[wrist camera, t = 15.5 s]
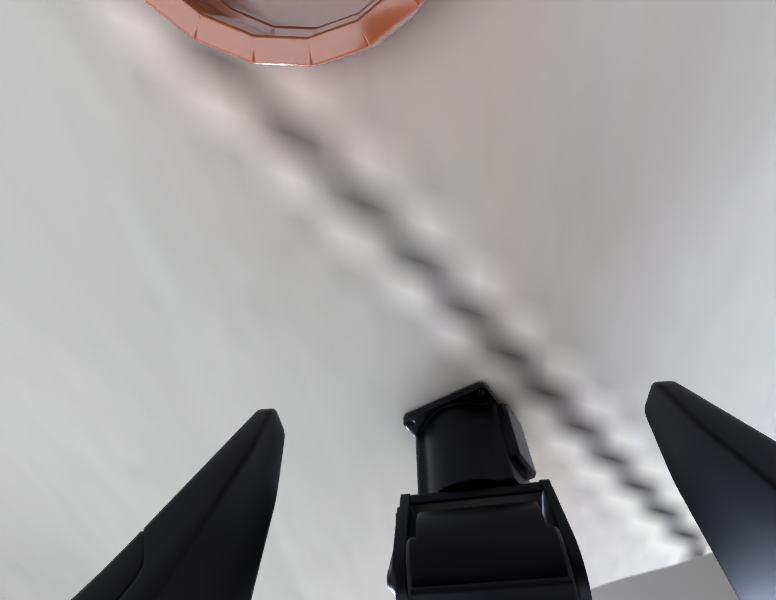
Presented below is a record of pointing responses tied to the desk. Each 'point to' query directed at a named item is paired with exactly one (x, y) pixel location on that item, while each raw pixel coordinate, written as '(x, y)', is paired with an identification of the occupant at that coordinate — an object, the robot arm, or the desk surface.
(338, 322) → the desk surface
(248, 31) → the pot
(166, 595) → the robot arm
